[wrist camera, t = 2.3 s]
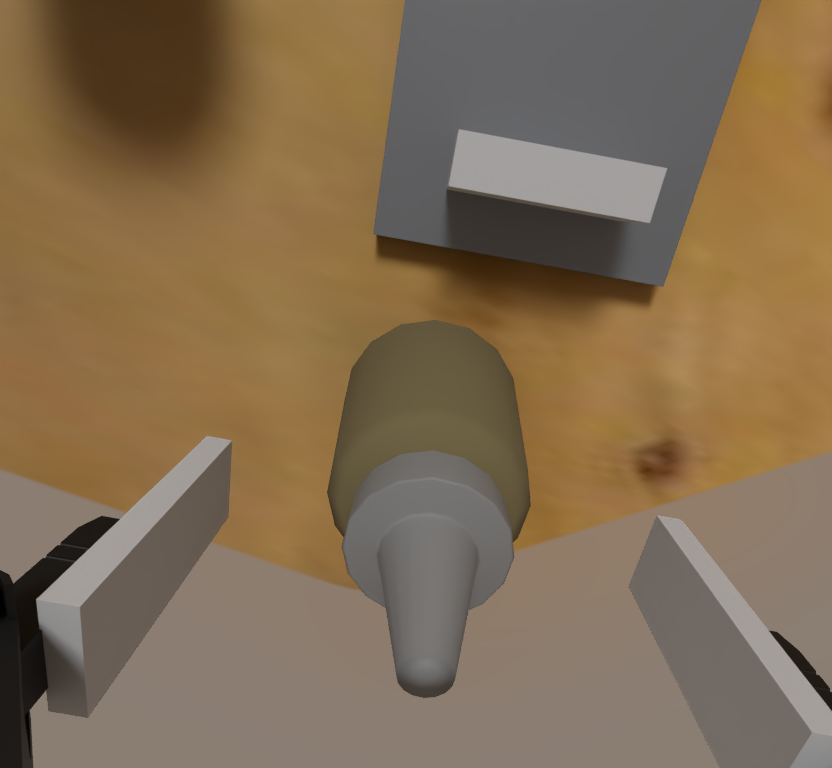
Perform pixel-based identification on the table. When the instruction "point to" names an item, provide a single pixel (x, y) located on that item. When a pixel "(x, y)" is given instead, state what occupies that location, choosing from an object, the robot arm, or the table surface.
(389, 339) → the squeeze bottle
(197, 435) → the table surface
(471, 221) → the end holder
